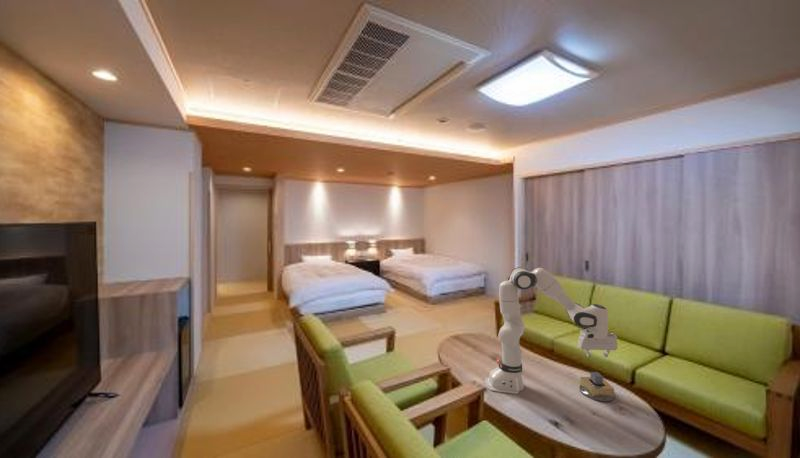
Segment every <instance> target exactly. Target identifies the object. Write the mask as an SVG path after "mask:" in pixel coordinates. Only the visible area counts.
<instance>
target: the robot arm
mask: <svg viewBox="0 0 800 458" xmlns="http://www.w3.org/2000/svg"><path fill="white" fill-rule="evenodd" d="M534 286H535V287H536V288H537V289H538V290H539V291H540V292H541V293H542V294H543V295H545V296H546V297H547V298H548V299H552V300H556V301H557V302H558V303H559V304H560V305H561V306H562V307H563V308H564V309H565V310H566V314H567V315H568V317H569V318H570V320H572V321H573V323H574V324H575V325H576V326H577V327H579V328H584V329H580V330H579V334H580V335H579V336H578V342H577V346H578V348H580V349H581V350H584V351H585V353H586V357H588V358H591V357H592V354H591V353H590V351H592V350H593V351H604V352H603V357H604V358H608V357H609V354H610V353H611V351H617V350H618V341H617V340H618V336H617V334H616V333H614V332H613V333H612V332H609V333H608V330H609V329H608V328H609V327H608V324H609V312H608V309H607V308H606V307H605V306H603V305H601V304H597V303H593V304H591V305H590V306H587V307H584V306H583V305H581V304H580V303H578V302H575V301H573V300H572V299H571V298H570V297H569V296H568V295H567V294H566V293H565V292H564V287H563V286H562V284H561V282H559V281H558V279H556V277H554V276H553V275H552V274H551V273H550V272H549V271H547V270H546V269H545V268H543V267H536V268H535V269H532V271H528V270H527V269H525V268H523V267H520V266H519V267H515V268H513V269H512V270H511V272H510V274H509V276H508V278H507V280H504V281H502V282H500V283H499V286H498V287H499V288H498V301H499V312H500V314H501V315H502V318H503V325H502V326H501V327H500V329H499V331H498V335H497V336H498V339H499V340H498V341H500V345H501V360H500V359H496V363H497V365H498V366H497V367H495V368H494V369H492V370H490V372H489V376H487V377H486V378H485V379H484V381H485V385H486V387H487V389H489V390H490V391H492V392H497V393H506V394H512V395H513V394H515V395H517V394H519V393H520V392H521V391H524V389H525V384H524V382H523V375H522V373H523V363H522V349H521V345H520V338H521V337H522V335H524V332H525V324H524V322H523V319H522V314H521V310H520V304H519V303H520V299H519V292H520V291H519V290H524V291H525V290H529V289H530V288H532V287H534Z"/></svg>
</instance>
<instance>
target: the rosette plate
mask: <svg viewBox="0 0 800 458" xmlns="http://www.w3.org/2000/svg"><path fill="white" fill-rule="evenodd" d="M579 391H580V393H581V394H582V395H583V396H585V397H586V398H589V399H590V400H593V401H597V402H600V403H602V402H603V403H610V402H613V401H614V400H615V396H616V395H615V388H614V387H613V386H612V385H611V384H610V383H608V382H607V381H606V380H605V379H604V378H603V386H594V385H593V384H592V383H591V376H580V385H579Z"/></svg>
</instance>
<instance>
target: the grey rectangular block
mask: <svg viewBox="0 0 800 458" xmlns="http://www.w3.org/2000/svg"><path fill="white" fill-rule="evenodd" d="M590 377H591V383H592V384H593V385H594V386H603V379H604V376H603V375H602V374H601V373H599V371H591V372H590Z"/></svg>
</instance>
